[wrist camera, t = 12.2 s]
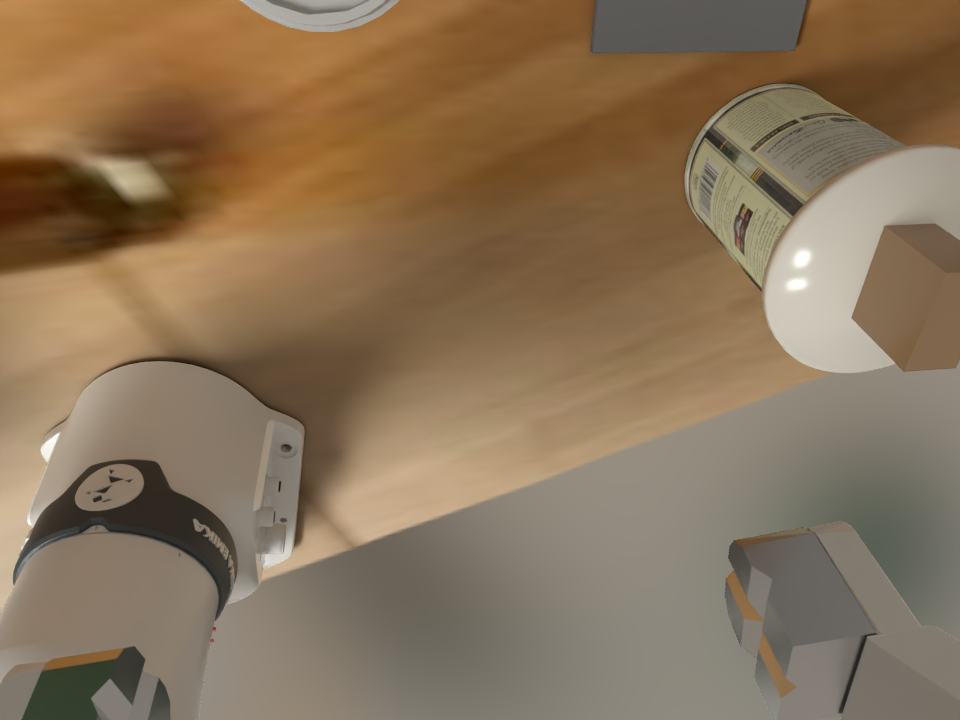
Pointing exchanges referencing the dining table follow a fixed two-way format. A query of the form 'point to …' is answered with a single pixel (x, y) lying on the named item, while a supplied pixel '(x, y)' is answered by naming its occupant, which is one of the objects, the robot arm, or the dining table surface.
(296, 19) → the disposable coffee cup
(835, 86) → the dining table surface
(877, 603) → the robot arm
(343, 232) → the dining table surface
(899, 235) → the lid
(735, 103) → the coffee can
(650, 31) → the mat
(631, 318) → the dining table surface
